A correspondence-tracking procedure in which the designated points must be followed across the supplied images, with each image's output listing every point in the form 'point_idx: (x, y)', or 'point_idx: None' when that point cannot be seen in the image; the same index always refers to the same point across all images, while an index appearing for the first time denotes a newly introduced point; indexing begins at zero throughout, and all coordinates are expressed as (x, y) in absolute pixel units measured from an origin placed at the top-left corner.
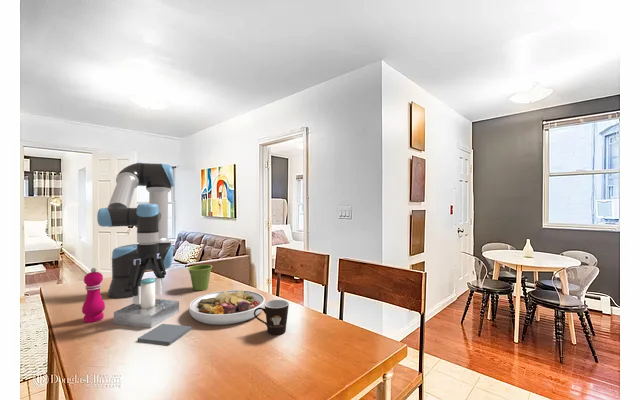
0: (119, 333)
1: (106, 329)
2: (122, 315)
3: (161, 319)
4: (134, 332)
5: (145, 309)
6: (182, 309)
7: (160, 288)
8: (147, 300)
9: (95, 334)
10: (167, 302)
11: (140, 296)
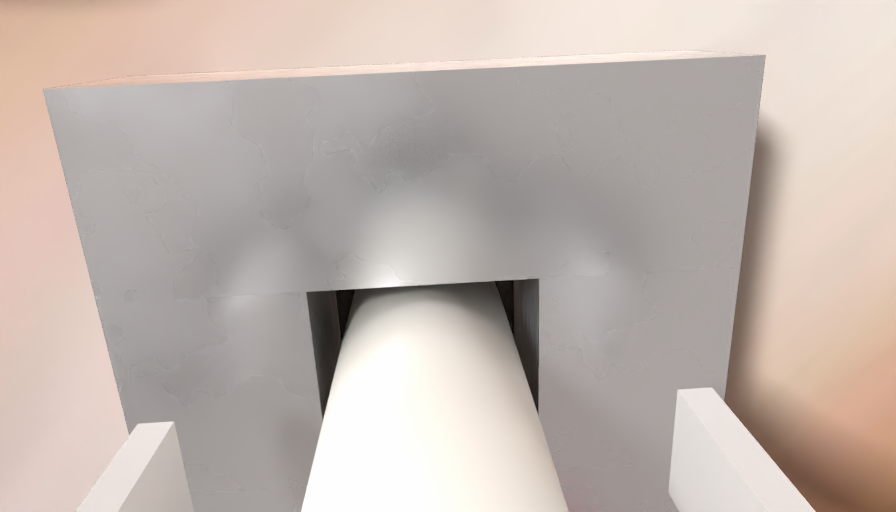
0: (847, 279)
1: None
2: None
3: (505, 60)
4: (816, 149)
5: (549, 327)
6: (38, 90)
7: (117, 508)
8: (523, 399)
9: (876, 458)
10: (192, 232)
11: (749, 473)
